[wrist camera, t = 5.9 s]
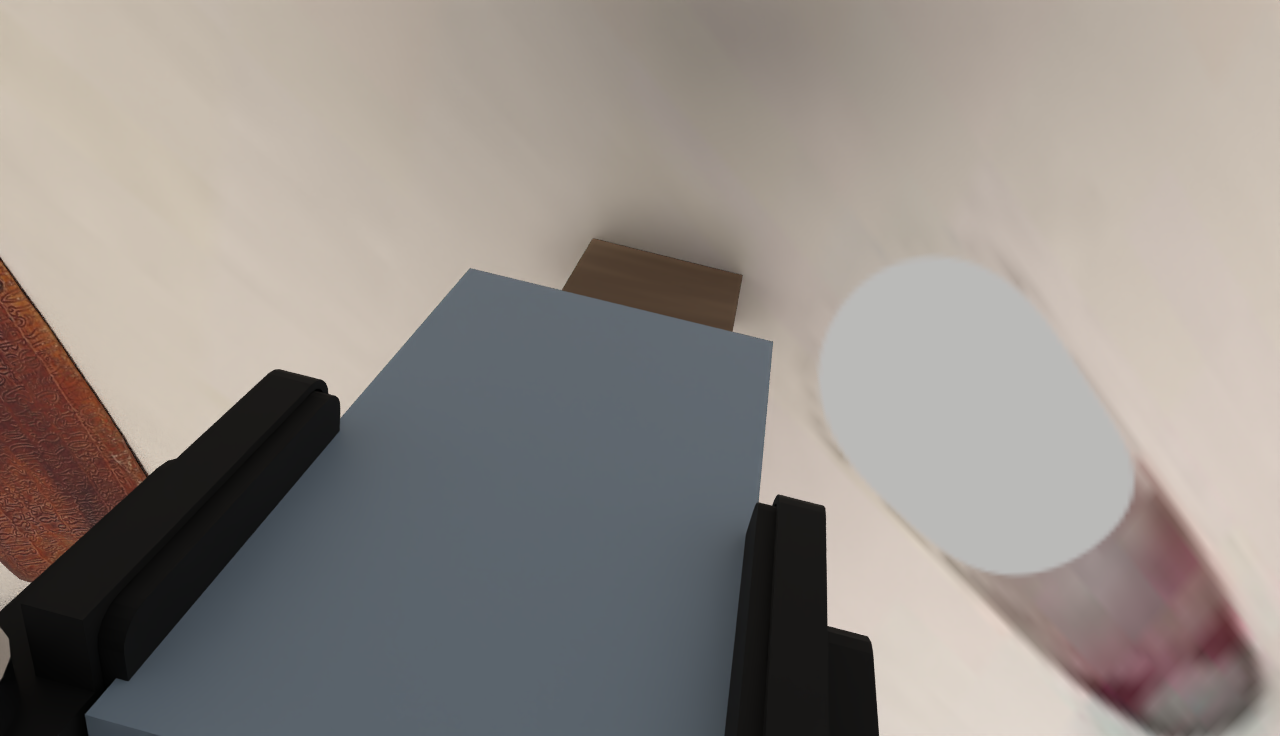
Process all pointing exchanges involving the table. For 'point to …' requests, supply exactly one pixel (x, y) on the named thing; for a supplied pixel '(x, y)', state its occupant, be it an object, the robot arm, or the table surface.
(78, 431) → the wooden tablet
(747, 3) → the table surface
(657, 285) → the domino
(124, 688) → the domino
